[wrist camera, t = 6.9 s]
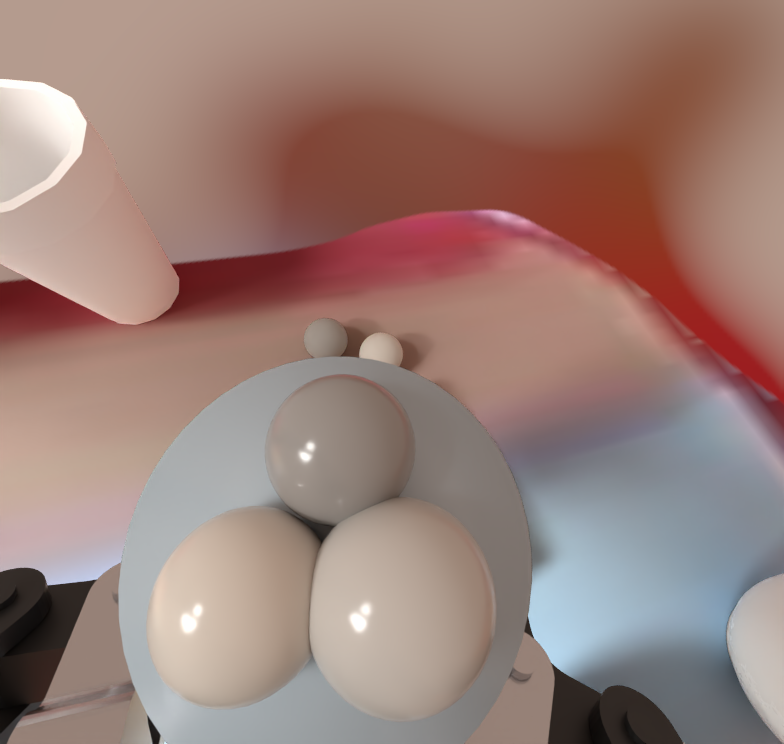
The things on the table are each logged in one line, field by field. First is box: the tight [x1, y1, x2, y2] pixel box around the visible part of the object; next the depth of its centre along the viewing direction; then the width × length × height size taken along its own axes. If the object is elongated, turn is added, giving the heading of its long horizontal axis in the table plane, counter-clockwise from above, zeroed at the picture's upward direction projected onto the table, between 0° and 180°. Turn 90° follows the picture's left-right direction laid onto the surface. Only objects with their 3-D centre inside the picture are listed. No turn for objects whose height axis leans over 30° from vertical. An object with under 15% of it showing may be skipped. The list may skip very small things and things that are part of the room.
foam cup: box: [0, 79, 179, 325], centre depth 25 cm, size 10×9×13 cm
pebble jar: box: [118, 356, 532, 744], centre depth 9 cm, size 5×5×13 cm
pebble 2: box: [359, 333, 403, 366], centre depth 28 cm, size 3×3×3 cm
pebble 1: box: [304, 318, 348, 358], centre depth 28 cm, size 3×3×3 cm
